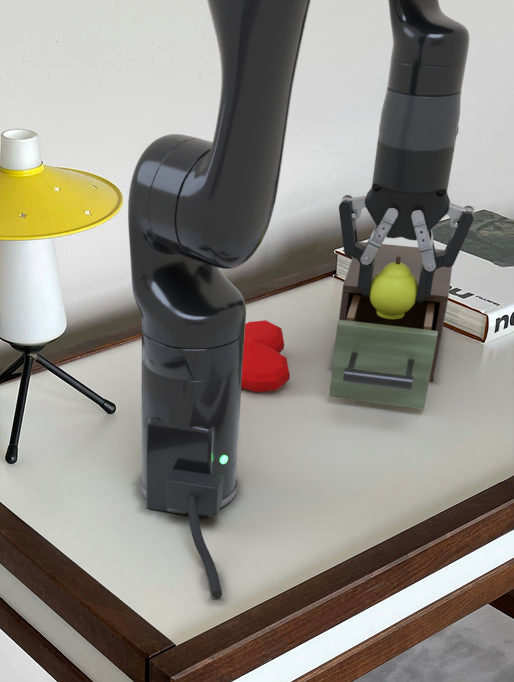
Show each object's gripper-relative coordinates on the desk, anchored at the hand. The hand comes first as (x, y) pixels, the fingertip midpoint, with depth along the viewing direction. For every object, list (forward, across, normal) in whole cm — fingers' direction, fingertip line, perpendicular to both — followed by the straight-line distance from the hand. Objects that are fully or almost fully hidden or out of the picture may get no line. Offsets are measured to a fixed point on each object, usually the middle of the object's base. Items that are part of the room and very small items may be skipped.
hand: (393, 296), depth 110 cm
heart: (+11, -16, 0) cm, 20 cm away
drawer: (+10, 0, -1) cm, 10 cm away
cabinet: (+11, 0, +11) cm, 16 cm away
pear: (+2, 0, 0) cm, 2 cm away
